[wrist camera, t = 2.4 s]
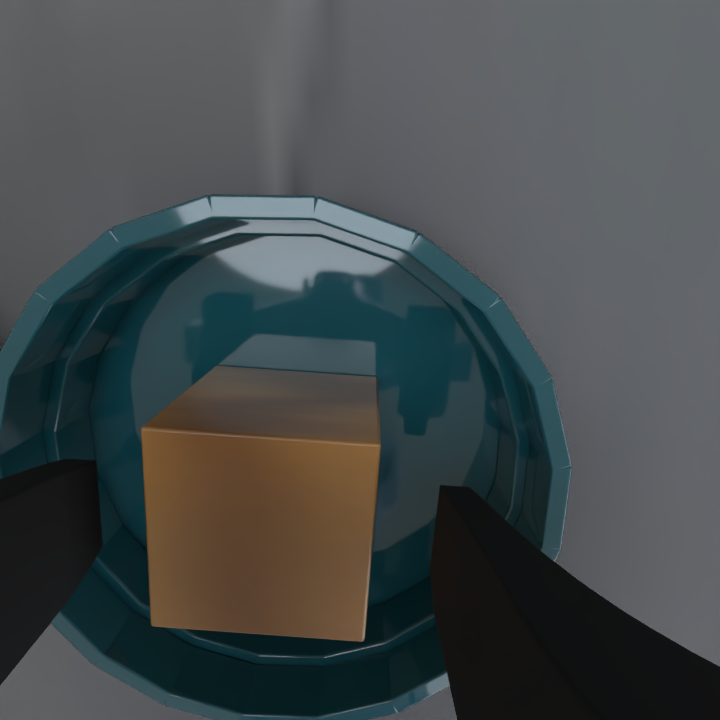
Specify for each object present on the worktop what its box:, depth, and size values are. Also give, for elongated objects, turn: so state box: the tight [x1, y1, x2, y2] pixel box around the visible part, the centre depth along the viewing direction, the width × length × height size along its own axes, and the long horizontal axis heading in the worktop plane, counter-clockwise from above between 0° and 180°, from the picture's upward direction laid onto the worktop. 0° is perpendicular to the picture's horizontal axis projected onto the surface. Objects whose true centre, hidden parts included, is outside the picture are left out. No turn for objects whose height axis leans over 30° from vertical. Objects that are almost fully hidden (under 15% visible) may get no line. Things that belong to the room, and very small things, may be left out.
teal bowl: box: [0, 194, 572, 720], centre depth 12 cm, size 13×13×4 cm
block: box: [141, 366, 381, 642], centre depth 11 cm, size 4×4×4 cm
